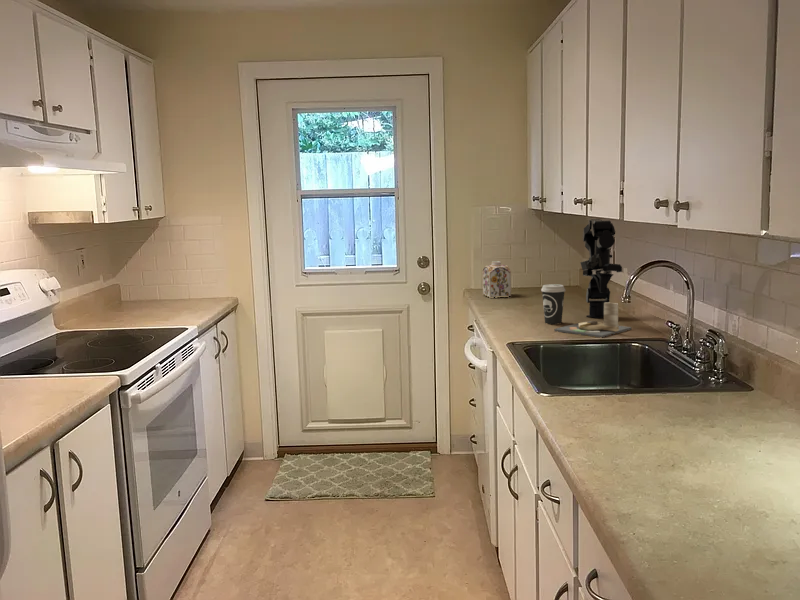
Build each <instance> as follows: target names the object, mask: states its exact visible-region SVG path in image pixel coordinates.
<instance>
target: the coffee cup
mask: <svg viewBox="0 0 800 600" xmlns="http://www.w3.org/2000/svg"><path fill="white" fill-rule="evenodd" d="M540 291H541V292H542V293H541V295H542V304H543V314H544V323H545V324H546V323H548V324H547V325H560V323H561V324H562V321H563V312H564V311H563V310H564V300H565V292H566V291H567V290H566V288H565V286H564V284H559V283H558V284H557V283H555V284H554V283H552V284H551V283H550V284H542V287H541V289H540Z"/></svg>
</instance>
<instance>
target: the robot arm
mask: <svg viewBox="0 0 800 600" xmlns="http://www.w3.org/2000/svg"><path fill="white" fill-rule="evenodd" d="M615 234H616V229H615V226H614V224H613V222H612V221H611V220H609V219H607V220H603V219H600V218H599V219H598V218H596V219H594V218H593V219H589V220H588V224H587V225H585V227H584V228H583V231H582V241H583V244H584V247H585V248H586V250H587V251H588V254H589V257H588V259H587V260H584V261H581V262H579V263H580V267H581V270H582V276H584V277H591V278H590V281H589V283H588V287H587V289H586V293H585V294H586V295H585V302H586V303H587V304H589V309H588V310H589V314H588V315H586V318H595V319H602V318H603V319H604V303H605V302H609V303H610V298H611V291H610V288H609V287H608V284H609V282H610V280H611V278H612V277H613V276H614V274H613V273H612V272H616V273H623V266H622V265H621V264H618V263H611V259H612V258H613V254H611V248H612V247H613V246H614V245H615V240H616V239H615V237H614V236H615Z"/></svg>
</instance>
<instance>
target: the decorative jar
mask: <svg viewBox="0 0 800 600" xmlns="http://www.w3.org/2000/svg"><path fill="white" fill-rule="evenodd" d="M511 273H512V271H511V269H510V268H509V266H508V265H506V264H502V262H501V261H498V260H497V261H495V260H494V261H491V264H488V265H485V266H484V267H483V270H482V295H483V294H485V295H487V296H489V297H496V296H511V297H512V274H511Z"/></svg>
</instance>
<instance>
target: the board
mask: <svg viewBox="0 0 800 600" xmlns="http://www.w3.org/2000/svg"><path fill="white" fill-rule="evenodd" d="M579 323H580V322H578V323H572V324H570V325H564V326H561V327H557V328H554V332H557V331H558V332H559V333H565V334H571V333H572V335H578V334H581V335H580V336H585V335H588V336H587V337H593V336H595V337H594V338H600V337H603V338H606V337H609V336H608V335H610V336H612V335H611V334H613V335H616V334H615V333H617V334H620V333H623V332H627V330H628V331H630V330H632V327H631V326H623V325H618V327H619V331H608V330H582V329H579ZM619 332H620V333H619ZM605 336H606V337H605Z"/></svg>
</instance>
